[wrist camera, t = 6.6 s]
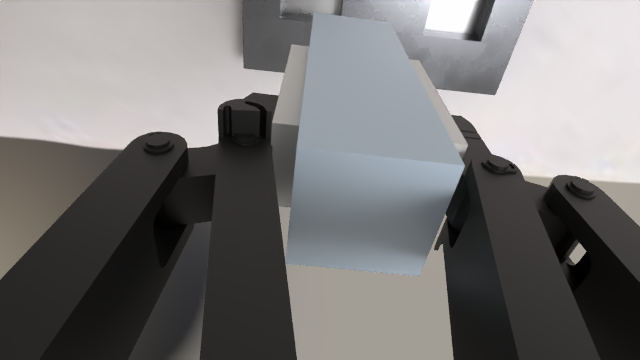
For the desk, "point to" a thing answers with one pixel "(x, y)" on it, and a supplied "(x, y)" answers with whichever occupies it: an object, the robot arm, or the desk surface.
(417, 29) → the dark grey base plate
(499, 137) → the desk surface
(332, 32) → the pale blue rectangular prism
